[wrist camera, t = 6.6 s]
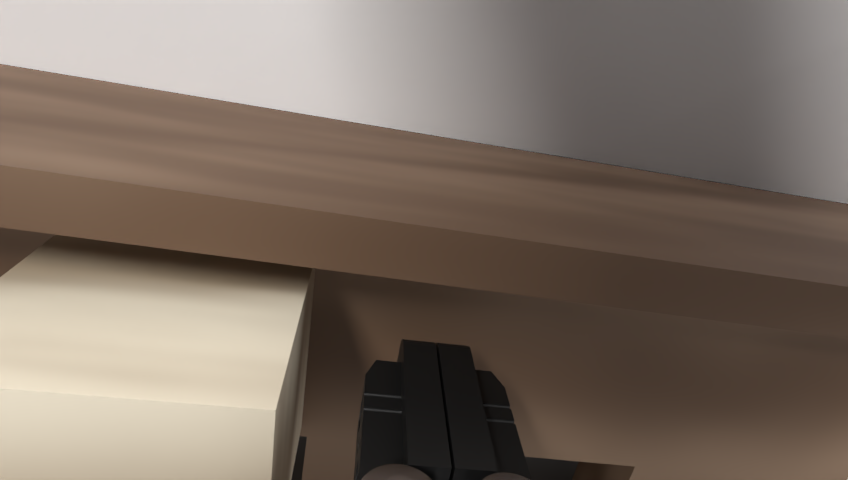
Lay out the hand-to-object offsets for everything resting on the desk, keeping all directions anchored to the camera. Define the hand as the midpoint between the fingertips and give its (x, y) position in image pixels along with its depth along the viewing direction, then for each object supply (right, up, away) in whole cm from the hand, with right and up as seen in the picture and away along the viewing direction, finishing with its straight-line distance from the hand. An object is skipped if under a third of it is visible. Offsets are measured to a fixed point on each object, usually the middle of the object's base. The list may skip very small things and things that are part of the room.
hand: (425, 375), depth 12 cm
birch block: (-5, +1, 0) cm, 5 cm away
